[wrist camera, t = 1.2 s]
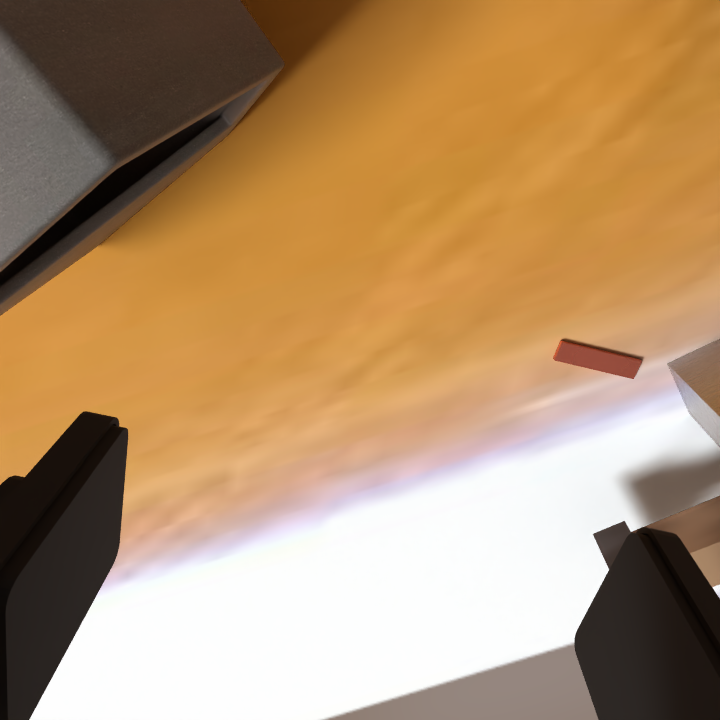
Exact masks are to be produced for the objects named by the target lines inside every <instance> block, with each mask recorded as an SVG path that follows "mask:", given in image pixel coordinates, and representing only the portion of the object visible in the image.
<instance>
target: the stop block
mask: <svg viewBox="0 0 720 720" xmlns="http://www.w3.org/2000/svg"><path fill="white" fill-rule="evenodd" d="M667 365H668V367H669V369H670V371H671V374H672V376H673V378H674V380H675V383H676V385H677V387H678V389H679V392H680V394H681V396H682V398H683V401H684V403H685V405H686V407H687V410H688V412H689V414H690V415H691V416H692V417H693V418H694V420H695V421H696V422H697V423H698V424H699V425H700V426H701V427H702V428H703V429H704V431H705V432H706V433H707V434H708V435H709V436H710V437H711V438H712V439H713V440H714V442H715V443H716V444H717V445H718V446H719V447H720V339H719V340H717V341H715V342H712V343H710V344H708V345H706V346H704V347H702V348H700V349H698V350H695V351H693V352H691V353H689V354H687V355H685V356H683V357H681V358H679V359H676V360H674V361H672V362H670V363H668V364H667Z"/></svg>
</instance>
